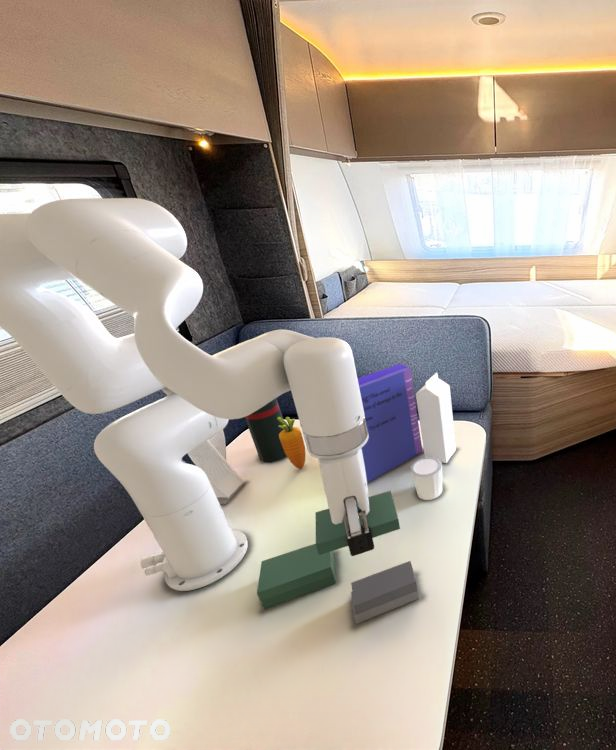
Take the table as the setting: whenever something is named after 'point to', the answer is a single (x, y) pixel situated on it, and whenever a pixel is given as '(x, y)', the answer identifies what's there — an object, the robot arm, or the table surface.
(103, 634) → the table surface
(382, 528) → the green flat block
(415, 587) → the grey books
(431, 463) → the white cylinder
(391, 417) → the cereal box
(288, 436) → the carrot
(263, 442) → the wine bottle
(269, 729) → the table surface
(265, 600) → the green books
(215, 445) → the skyscraper
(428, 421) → the milk
